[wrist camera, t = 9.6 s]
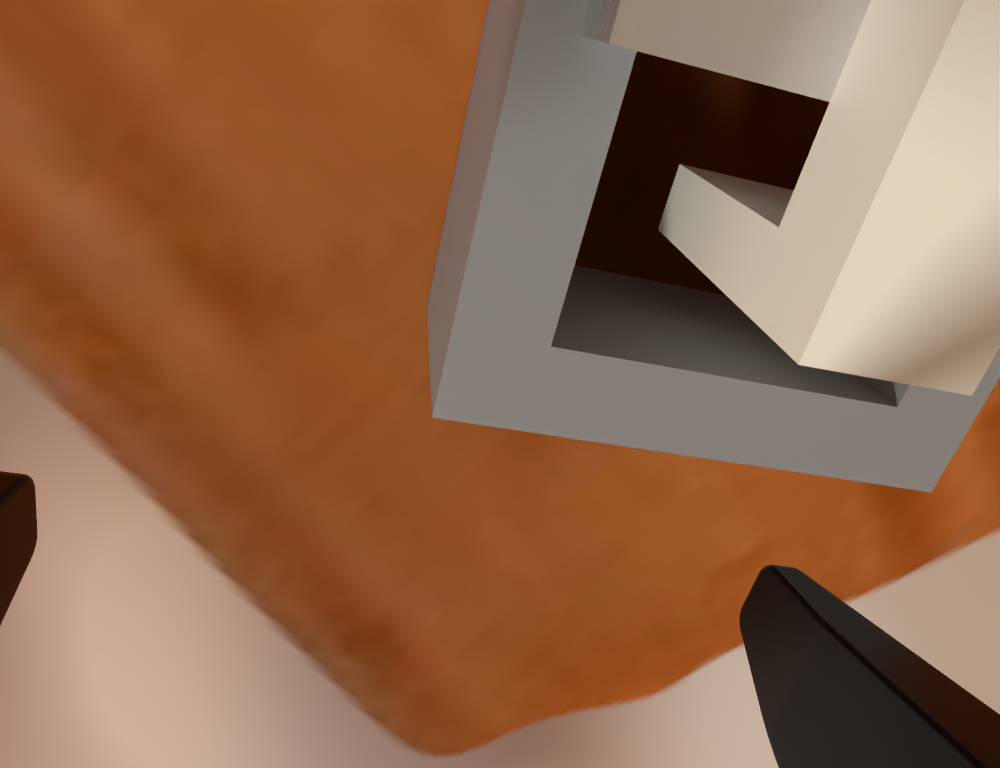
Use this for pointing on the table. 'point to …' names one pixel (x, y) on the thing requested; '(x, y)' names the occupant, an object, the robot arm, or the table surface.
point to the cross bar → (739, 37)
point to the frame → (626, 299)
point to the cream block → (875, 209)
